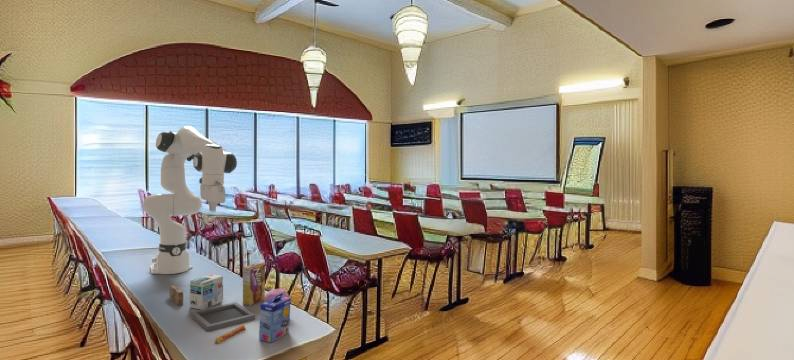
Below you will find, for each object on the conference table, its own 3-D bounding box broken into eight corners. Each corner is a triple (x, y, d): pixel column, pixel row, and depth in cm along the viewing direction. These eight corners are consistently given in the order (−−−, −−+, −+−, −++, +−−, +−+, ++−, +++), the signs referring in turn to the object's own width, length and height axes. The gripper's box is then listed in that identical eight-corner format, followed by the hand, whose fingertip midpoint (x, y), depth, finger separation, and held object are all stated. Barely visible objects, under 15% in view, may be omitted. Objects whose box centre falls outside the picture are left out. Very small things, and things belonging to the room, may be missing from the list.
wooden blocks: (169, 297, 169) (169, 285, 169) (212, 289, 181) (212, 278, 181) (178, 305, 161) (179, 293, 160) (222, 296, 173) (223, 285, 172)
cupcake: (292, 312, 158) (293, 287, 157) (280, 321, 150) (281, 294, 149) (272, 309, 160) (272, 284, 160) (259, 317, 152) (259, 291, 151)
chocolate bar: (213, 343, 131) (213, 336, 131) (240, 329, 142) (240, 323, 142) (219, 345, 130) (219, 338, 130) (246, 331, 141) (246, 324, 141)
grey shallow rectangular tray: (190, 316, 151) (190, 312, 151) (236, 305, 163) (236, 302, 163) (207, 331, 139) (207, 326, 139) (255, 318, 151) (255, 314, 151)
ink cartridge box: (272, 343, 132) (273, 299, 131) (258, 340, 134) (259, 296, 133) (290, 332, 141) (291, 290, 140) (277, 329, 143) (278, 288, 142)
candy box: (256, 297, 173) (257, 261, 173) (265, 299, 172) (266, 263, 171) (241, 304, 165) (242, 266, 164) (250, 305, 164) (251, 268, 163)
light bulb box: (202, 310, 157) (202, 282, 156) (188, 307, 159) (189, 280, 159) (223, 301, 167) (223, 275, 166) (210, 299, 169) (210, 273, 169)
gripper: (229, 182, 178) (229, 213, 179) (211, 179, 193) (211, 208, 193) (214, 182, 174) (214, 214, 174) (197, 179, 188) (197, 209, 189)
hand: (212, 211), depth 184 cm, fingers closed
